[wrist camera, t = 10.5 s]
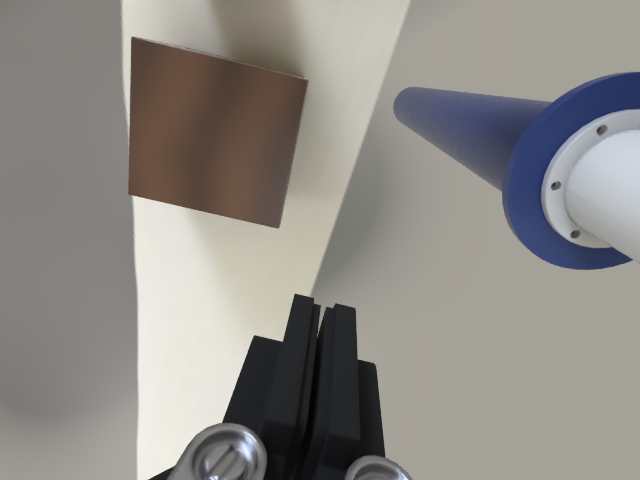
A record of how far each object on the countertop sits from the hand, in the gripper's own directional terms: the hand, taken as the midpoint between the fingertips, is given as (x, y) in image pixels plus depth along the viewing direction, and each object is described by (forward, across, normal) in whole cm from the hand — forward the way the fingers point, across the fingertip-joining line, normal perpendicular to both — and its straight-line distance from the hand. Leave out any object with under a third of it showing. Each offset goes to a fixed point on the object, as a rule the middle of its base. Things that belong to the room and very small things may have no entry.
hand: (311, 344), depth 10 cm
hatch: (+18, +9, -1) cm, 20 cm away
